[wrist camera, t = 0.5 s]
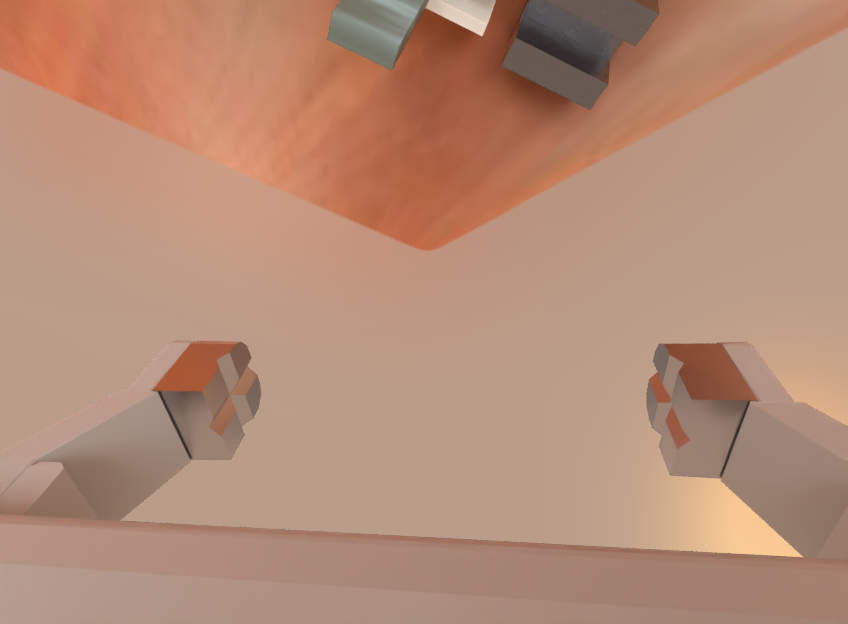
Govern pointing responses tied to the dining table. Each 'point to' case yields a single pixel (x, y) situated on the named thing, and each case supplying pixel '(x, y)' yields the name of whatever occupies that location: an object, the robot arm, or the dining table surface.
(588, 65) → the charcoal holder
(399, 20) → the teal board
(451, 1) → the white rack
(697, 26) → the dining table surface
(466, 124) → the dining table surface
